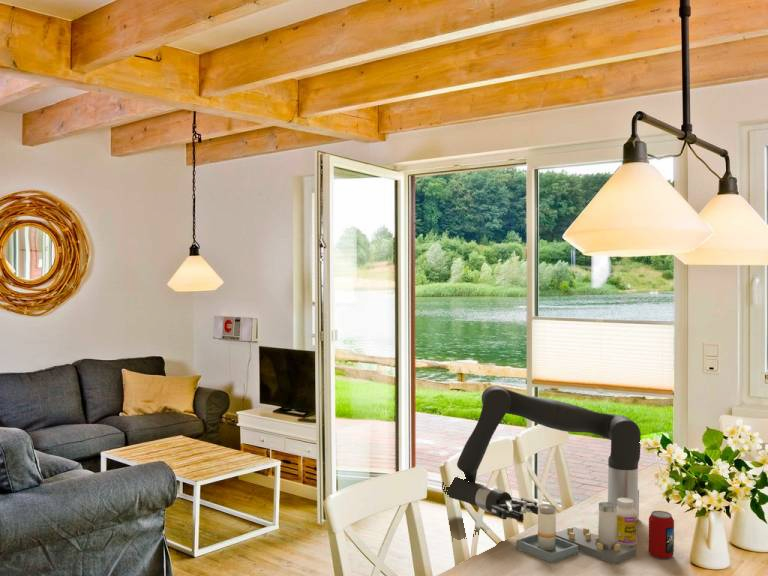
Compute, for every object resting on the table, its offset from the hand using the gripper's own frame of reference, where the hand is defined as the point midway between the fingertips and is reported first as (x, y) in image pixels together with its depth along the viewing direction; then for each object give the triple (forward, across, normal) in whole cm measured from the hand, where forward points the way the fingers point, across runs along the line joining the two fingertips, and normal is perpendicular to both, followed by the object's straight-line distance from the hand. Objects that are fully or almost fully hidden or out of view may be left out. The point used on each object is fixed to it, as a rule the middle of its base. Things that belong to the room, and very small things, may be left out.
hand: (532, 515), depth 214 cm
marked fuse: (+5, 0, +8) cm, 10 cm away
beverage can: (+26, +24, +9) cm, 37 cm away
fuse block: (+12, +13, +9) cm, 20 cm away
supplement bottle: (+14, +24, +9) cm, 30 cm away
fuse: (+16, +13, +7) cm, 22 cm away
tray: (+5, 0, +9) cm, 10 cm away
